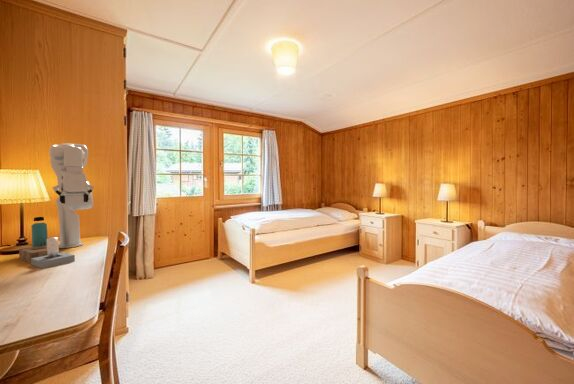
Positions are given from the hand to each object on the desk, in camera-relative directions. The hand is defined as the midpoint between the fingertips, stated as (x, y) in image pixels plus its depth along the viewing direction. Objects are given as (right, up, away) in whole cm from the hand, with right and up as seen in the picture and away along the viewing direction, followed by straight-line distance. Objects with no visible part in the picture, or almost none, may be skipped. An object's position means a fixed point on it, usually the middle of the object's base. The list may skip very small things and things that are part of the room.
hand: (74, 202), depth 133 cm
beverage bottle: (-25, -28, +7) cm, 38 cm away
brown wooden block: (-14, -28, -5) cm, 32 cm away
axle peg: (+1, -28, -13) cm, 31 cm away
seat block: (+1, -28, -13) cm, 31 cm away
